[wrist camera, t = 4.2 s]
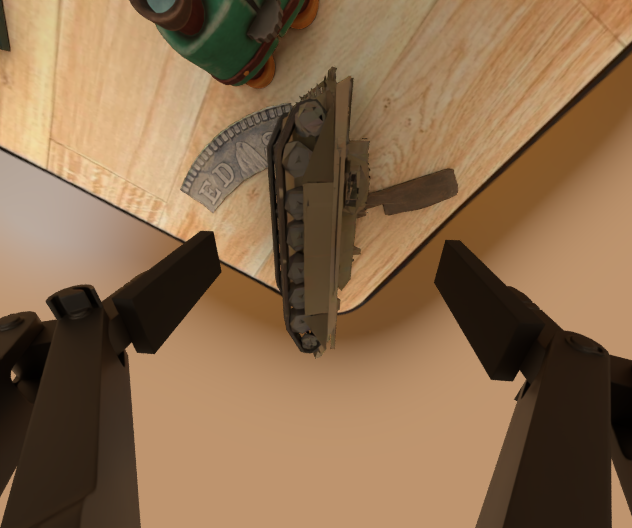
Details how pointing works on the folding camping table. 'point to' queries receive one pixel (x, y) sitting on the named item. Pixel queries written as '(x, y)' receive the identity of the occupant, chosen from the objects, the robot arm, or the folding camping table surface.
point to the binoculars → (228, 33)
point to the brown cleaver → (415, 193)
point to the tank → (316, 208)
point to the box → (3, 31)
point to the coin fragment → (232, 157)
